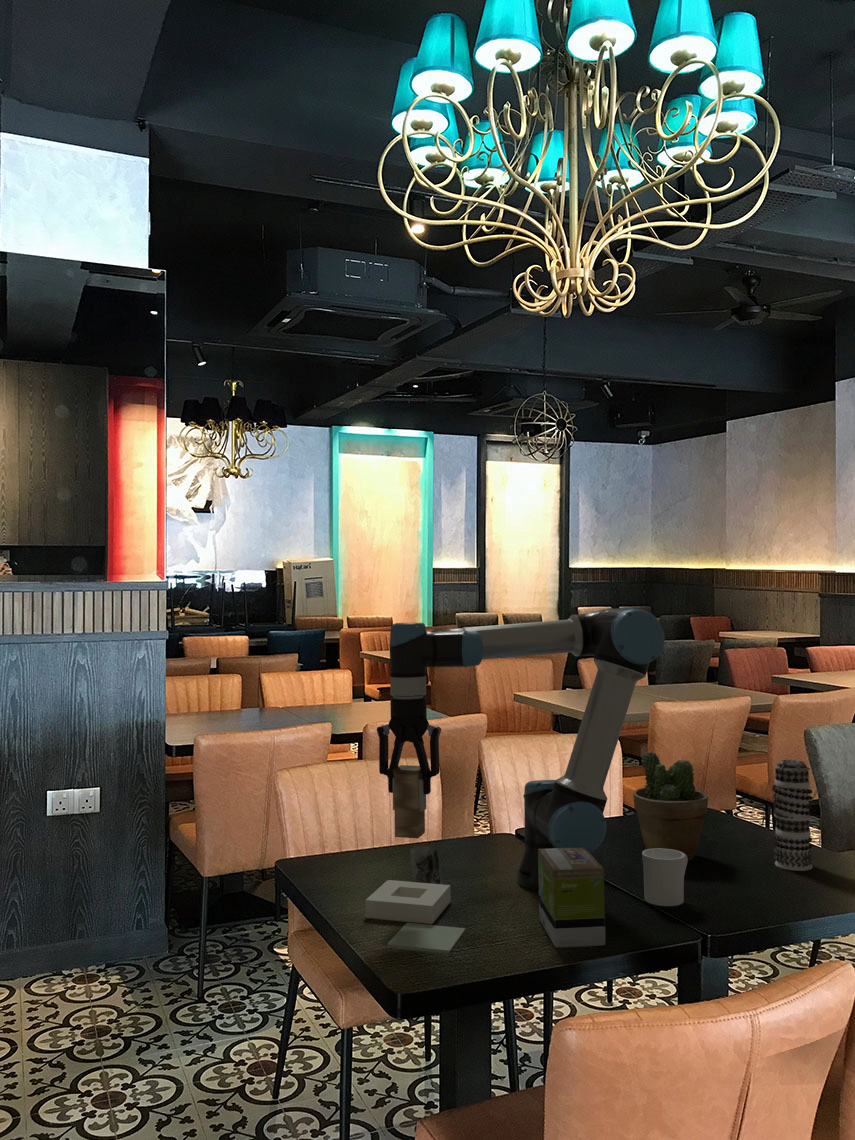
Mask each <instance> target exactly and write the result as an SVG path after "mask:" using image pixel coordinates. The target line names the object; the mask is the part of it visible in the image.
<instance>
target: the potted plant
mask: <svg viewBox="0 0 855 1140" xmlns="http://www.w3.org/2000/svg"><path fill="white" fill-rule="evenodd" d="M641 758H642V759H641V763H642V767H643V768H644V774H645V779H644V780H645V784H646V785H644V787H640V788H637V789H636V790H634V791H633V792H632V798H633V808H634V810H635V812H636V814H637V818H638V822H639V823H638V824H639V827H640V833H641V836H642V840H643V843H644V846H645V850H647V849H654V848H663V849H672V850H677V851H680V852H682V853H684V854H685V855H687V858H688V862H690V861H691V860H693V859H694V858H695V855H696V851H697V847H698V844H699V841H700V838H701V833H702V828H703V825H704V824H703V823H704V818H705V816H706V814H707V812H708V804H709V802H708V801H709V795H708V794H707V793H705V792H703V791H700V790H696V786H695V784H694V782H695V780H694V777H695V773H694V772H693V771H694V770H695V769H694V766H693V764H692V763H691V762H690V761H689V760H688V759H679V760H677V761H676V762H674V763H673V765H671V766H669V768H668V769H666V766H665V765H664V764H662V763H661V762H660V757H659V756H658V755H657V753H656V752H651V751H649V752H645V753H644V754H643V755H642V756H641Z"/></svg>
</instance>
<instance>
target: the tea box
mask: <svg viewBox="0 0 855 1140" xmlns="http://www.w3.org/2000/svg"><path fill="white" fill-rule="evenodd" d="M538 876H539V891H538V901H539V903H538V908H539V910H538V911H539V912H538V913H539V914H538V915H539V920H540V923H541V924H542V926H543V929H544V931H545V932H546V933H547V935H548V937H549V939H550V941H551V942H552V944H553V946H554V947H555V948H578V947H580V948H581V947H599V946H606V907H605V906H606V903H605V900H606V899H605V893H606V892H605V868H604V867H603V866H602V865H601V864H600V863H599V861H598V860H597V859H596V858H595V857H594V856H593V855H592V854H591V853H589V852H588V851H587V850H586V849H585V847H572V848H551V849H538Z"/></svg>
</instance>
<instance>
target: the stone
mask: <svg viewBox="0 0 855 1140" xmlns="http://www.w3.org/2000/svg"><path fill="white" fill-rule="evenodd" d="M409 854H410V858H409V866H410V869H411V875H412V880H413V881H412V882H418V883H430V884H442V885H443V874H442V873H443V872H442V868H441V864H440V859H439V855H438V849H437V848H436V847H435V848H434V847H430V846H426V845H425V846H424V845H420V846H415V847H412V848H411V849H410V850H409Z"/></svg>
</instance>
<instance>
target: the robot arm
mask: <svg viewBox="0 0 855 1140" xmlns="http://www.w3.org/2000/svg"><path fill="white" fill-rule="evenodd" d="M389 632H390V634H389V635H390V636H389V644H388V645H389V667H390V669H389V674H390V675H389V676H390V677H389V679H390V681H389V682H390V683H389V685H390V688H389V690H390V696H392V697H391V699H390V705H389V706H390V707H389V708H390V718H389V719H390V720H389V722H388V724H385V725H383V724H382V725H380V726H378V727H377V728H376V732H377V736H378V740H379V741H378V742H379V743H378V744H379V745H378V748H379V749H378V750H379V752H378V753H379V754H378V755H379V756H378V758H379V759H378V761H379V762H378V768H379V769H378V771H379V774H380V775H383V776H386V777H387V782H388V783H387V785H388V787H387V790H388V793H390V794H392V810H393V811H394V774H393V769H395V768H397V767H398V766H400V761H401V756H402V751H403V748H404V745H405V743H406V742H408V743H412V744H413V747H414V750H415V752H416V754H415V755H416V756H417V761H418V766H420V769H421V773H422V778H421V779H419V811H421V812H423V811H424V810H425V811H426V810H427V796H428V795H429V794H430V793H431V791H432V790H431V787H432V786H431V784H432V783H431V782H432V781H431V780H432V778H433V777H435V776H437V775H439V774H440V744H439V743H440V741H439V740H440V735H441V732H442V728H441V726H434V725H432V724H430V722H429V720H428V718H427V717H428V716H427V715H428V714H427V712H428V711H427V709H428V708H427V698H426V697H424V696H426V695H427V668H463V667H464V668H468V667H469V668H470V667H477V666H479V665H480V664H481V663H482V661H483V660H493V659H505V658H508V659H509V658H517V657H531V656H543V655H556V654H557V655H558V654H568V653H570V654H572V655H573V656H574V657H585V656H586V657H593V662H594V664H595V666H596V668H597V669H596V670H597V671H596V675H595V677H594V681H593V684H592V686H591V687H592V688H591V690H590V693H589V696H588V700H587V703H586V705H585V706H586V707H585V710H584V713H583V715H582V718H581V722H580V725H579V728H578V732H577V735H576V738H575V741H574V745H573V748H572V751H571V753H570V757H569V759H568V764H567V767H566V770H565V773H564V774H563V775H562V776H561V777H559V778H557V779H541V780H531V781H528V782H526V783H525V785H524V794H523V796H522V797H523V801H524V804H523V806H524V808H523V809H524V810H523V811H524V814H523V815H524V820H523V821H524V849H523V852H522V855H521V858H520V862H519V865H518V868H517V870H516V871H517V872H516V873H517V874H516V876H517V878H516V880H517V883H518V884H519V885H520V886H522V887H524V888H527V889H530V890H534V891H538V892H539V876H538V849H551V848H572V847H585V849H586V850H587V851H588V852H589V853H590V854H591V853H593V852H594V851H595V850H596V849H598V848H599V847H600V846H601V844H602V843H603V841H604V839H605V838H606V834H607V821H606V818H605V816H604V812H605V807H606V804H607V803H608V802H607V801H608V797H607V795H606V793H605V789H604V786H605V783H606V779H607V777H608V774H609V770H610V767H611V764H612V761H613V758H614V756H615V751H616V747H617V745H618V741H619V739H620V734H621V733H622V728H623V725H624V722H625V719H626V716H627V713H628V709H629V706H630V704H631V700H632V696H633V693H634V690H635V687H636V685H637V682H639V681H641V680H642V679H644V678H646V676H647V673H648V670H649V666H650V663H652V662H654V661H655V660H656V659H658V657H659V656H660V655H661V653H662V652H663V649H664V646H665V641H666V640H665V632H664V628H663V626H662V624H661V622H660V620H659V619H658V618H657V617H656V616H655V615H654V614H653V613H651V612H649V611H647V610H644V609H640V608H636V607H627V608H619V607H614V608H612V607H611V608H606V609H602V610H601V609H600V610H596V611H591V612H587V613H586V612H585V613H579V614H571V615H570V616H569V618H568V619H559V620H557V619H556V620H548V621H547V620H546V621H534V622H533V621H532V622H520V623H508V624H506V623H505V624H495V625H481V626H468V627H456V628H434V629H433V630H430V631H427V628H426V624H425V623H424V622H396V623H393V624H392V625H391V626H390V629H389ZM390 730H391V732H392V733H393V735H394V738H395V739H394V742H393V745H394V746H393V749H392V754H391V758H390V762H389V734H390V733H391V732H390ZM426 732H427V733H428V737H429V758H430V761H429V759H428V757H427V751H426V748H425V743H424V738H423V736H424V735H425V733H426ZM429 762H430V763H429Z"/></svg>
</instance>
